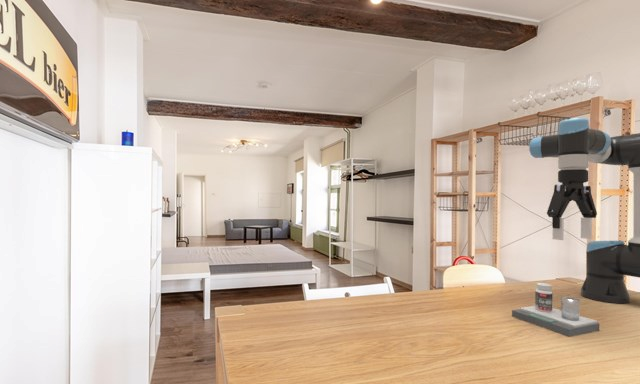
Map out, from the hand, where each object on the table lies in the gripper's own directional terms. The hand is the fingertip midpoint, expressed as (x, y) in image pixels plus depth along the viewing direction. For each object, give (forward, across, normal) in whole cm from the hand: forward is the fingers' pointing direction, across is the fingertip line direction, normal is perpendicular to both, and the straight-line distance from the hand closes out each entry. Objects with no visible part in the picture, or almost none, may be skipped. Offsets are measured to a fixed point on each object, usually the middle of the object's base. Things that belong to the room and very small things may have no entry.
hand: (572, 239), depth 106 cm
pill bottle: (+24, 0, -9) cm, 26 cm away
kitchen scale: (+27, +2, -4) cm, 27 cm away
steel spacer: (+24, 0, 0) cm, 24 cm away
